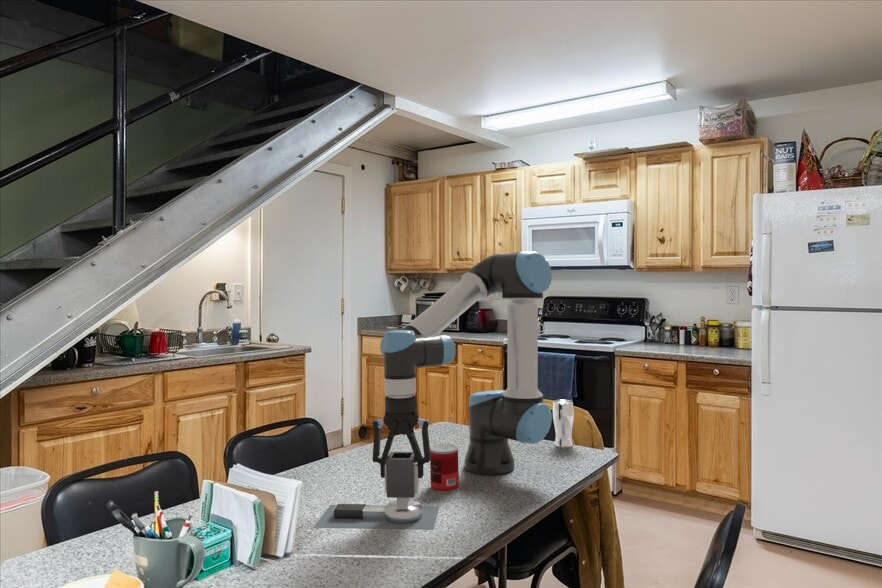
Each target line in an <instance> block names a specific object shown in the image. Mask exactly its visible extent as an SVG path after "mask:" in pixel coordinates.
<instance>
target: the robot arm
mask: <svg viewBox="0 0 882 588" xmlns="http://www.w3.org/2000/svg"><path fill="white" fill-rule="evenodd" d="M552 274H553V273H552V269H551V266H550V263H549V261H548V260H547V259H546V258H545V256H544V255H543V254H541V253H540V252H537V251H527V250H526V251H516V252H515V251H513V252H504V253H502V252H501V253H495V254H491V255H490V256H487V257H485V258H484V259H483V260H481V261H479V262H477V263H476V264H475V265H473V266H472V267H471V268H470V269H468V270H467V271H466V272H465V273H463V274H462V275H461V278H460V281H459V282H458V283H456V284H455V285H454V286H453V287H452V288H451V289H449V290H448V291H447V292H445V293H444V294H443V295H442V296H441V297H440V298H438V299H437V300H436V301H435V302H433V303H432V304H431V305H430V306H428V307H427V308H426V309H425V310H424V311H422V313H420V314H419V315H418V316H416V317H415V318H414V319H413V320H412V321H410V322H409V323H408V324H407V325H406V326H404V327H403V328H402V329H399V330H397V329H394V330H389V331H386V332H385V333H384V335H383V337H382V338H381V341H380V345H379V347H380V352H381V355H382V356H383V367H384V368H383V369H384V374H383V375H384V378H383V379H384V383H383V384H384V394H385V395H386V396H385V397H384V415H383V418H379V419H378V418H375V419H374V420H373V421H372V423H371V424H372V427H373V430H374V433H373V445H372V462H373V463H378V464H379V467H380V478H381V479H384V493H385V494H387V482H386V459H387V457H388V455H389V454H390V452H391V448H392V445H393V441H394V438H395V436H398V435H403V436H406V437H407V439H408V441H409V444H410V447H411V450H412V452H413V453H414V456H415V458H416V461H417V463H415V466H414V474H415V493H416V494H419V491H420V479H422V478H423V476H424V475H425V474H424V464H427V463H430V459H431V454H430V448H431V445H430V437H429V436H430V435H429V426H430V419H428V418H425V419H424V418H420V417H419V416H418V413H417V412H418V411H417V396H416V393H417V379H416V377H417V375H416V374H417V369H420V368H429V367H441V366H445V365H448V364H450V363H452V361H454V359H455V357H456V351H457V350H456V344H455V342H454V340H453V338H451V337H450V336H449V335H446V334H444V335H442V334H441V333H442V332H443V331H444V330H445V329H446V328H447V327H448V326H450V325H451V324H452V323H453V322H454V321H456V320H457V319H458V318H459V317H460V316H461V315H462V314H464V313H465V312H466V311H467V310H469V309H470V307H472V306H473V305H474V304H476V302H479V301H480V302H481V301H484V300H485V299H486V298H488V297H489V296H491V295H493V294H498V293H501V297H502V298H501V299H502V300H503V302H504V303H505V304H506V305H507V308H506V309H507V317H506V318H507V328H506V329H507V333H506V334H507V337H506V338H507V350H506V351H507V355H506V356H507V366H506V367H507V374H506V375H507V385H506V386H507V388H506V389H505V390H504V389H498V390H497V389H495V390H494V389H493V390H486V391H477V392H475V393H472V394H471V395H470V396H469V398H468V426H469V429H468V430H469V444H468V446H467V451H466V453H465V457H464V462H463V463H464V464H463V465H464V469H465V470H466V471H468V472H470V473H473V474H477V475H488V476H492V475H503V474H506V473H509V472H511V471H513V470H514V469H515V458H514V455H513V452H512V449H511V446H510V444H509V440H512V441H515V442H519V443H522V444H530V445H531V444H532V445H533V444H538V443H541V441H542V440H544V438H546V436H547V434H548V433H549V431H550V429H551V426H552V420H553V413H552V410H551V409H550V407H549V406H548V405H547V404H546V403H544V394H543V393H542V392H541V391H540V390H539V388H538V385H539V382H538V380H539V379H538V377H539V376H538V366H539V365H538V364H539V363H538V362H539V359H538V358H539V357H538V354H539V353H538V351H539V350H538V349H539V348H538V347H539V346H538V341H539V339H538V338H539V337H538V336H539V334H538V331H539V330H538V325H539V323H538V321H539V319H538V318H539V315H538V313H539V312H538V309H539V307H538V306H539V304H540V302H542V301H543V300H544V293H545V292H546V291H547V290H549V288H550V286H551V284H552V279H553V278H552V277H553V275H552ZM440 334H441V335H440ZM417 424H419V428H420V429H421V437H422V438H421V439H422V447H423V454H422V451H421V449H420V445H419V443H418V440H417V437H416V433H415V431H414V430H415V429H414V428H415V427H416V425H417ZM384 425H385V426H386V427H387V428H388V435H387V439H386V442H385V444H384V448H383V450H382V451H383V452H382V455H381V453H380V452H381V442H382V441H381V440H382V439H381V438H382V428H383V427H384ZM380 455H381V456H380Z"/></svg>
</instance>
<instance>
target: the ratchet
mask: <svg viewBox="0 0 882 588" xmlns="http://www.w3.org/2000/svg"><path fill="white" fill-rule="evenodd" d="M336 505H337V506H335V508H334V509H333V510H332V518H334V519H385V520H386V521H387V522H389V523H393V524H410V523H414V522H417V521H419V520H420V519H421V518H422V506H423V505H422V504H421V503H420V502H418V501H415V500H411V499H410V498H396V500H395V501H391V502H388V503H387V504H386V505H384V506H385V507H381V506H382V505H381V506H366V505H367V503H337V504H336Z"/></svg>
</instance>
